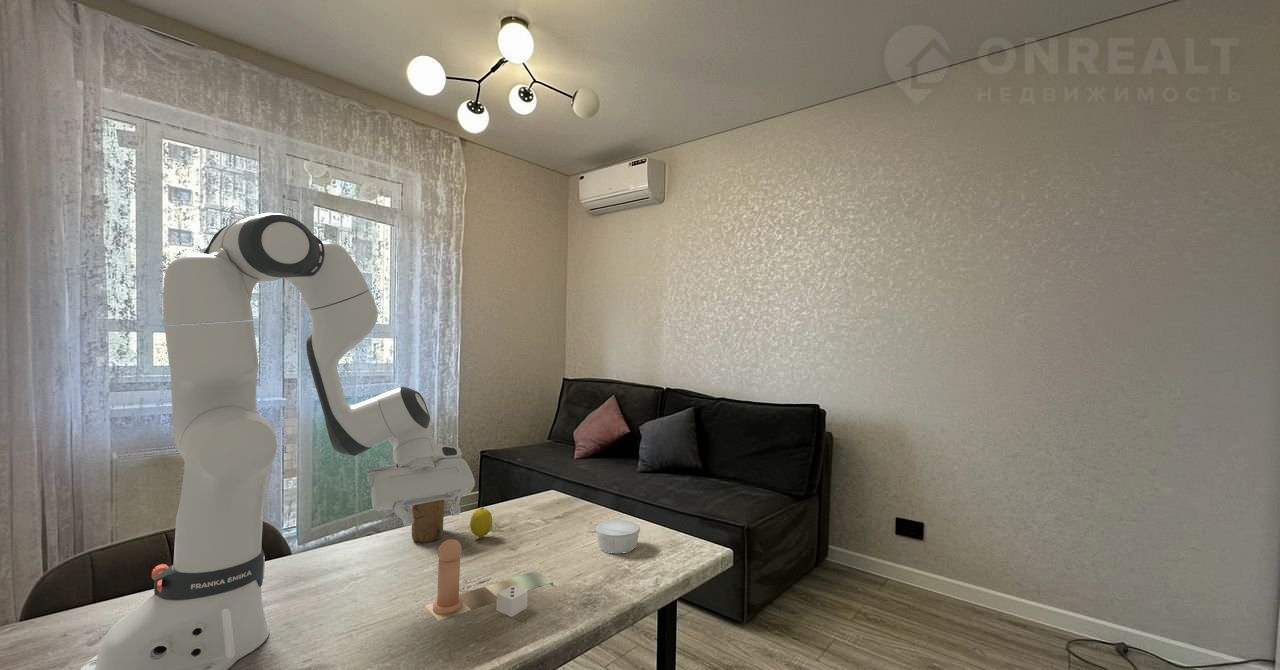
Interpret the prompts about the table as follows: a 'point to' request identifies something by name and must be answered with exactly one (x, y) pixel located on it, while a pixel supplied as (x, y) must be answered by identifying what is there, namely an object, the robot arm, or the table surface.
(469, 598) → the board
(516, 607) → the die
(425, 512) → the block
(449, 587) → the round-topped peg
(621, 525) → the ramekin
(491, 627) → the table surface
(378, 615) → the table surface
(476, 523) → the lemon
